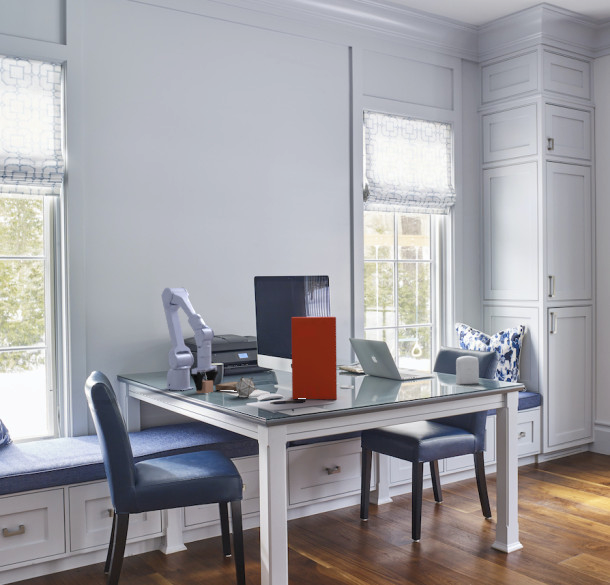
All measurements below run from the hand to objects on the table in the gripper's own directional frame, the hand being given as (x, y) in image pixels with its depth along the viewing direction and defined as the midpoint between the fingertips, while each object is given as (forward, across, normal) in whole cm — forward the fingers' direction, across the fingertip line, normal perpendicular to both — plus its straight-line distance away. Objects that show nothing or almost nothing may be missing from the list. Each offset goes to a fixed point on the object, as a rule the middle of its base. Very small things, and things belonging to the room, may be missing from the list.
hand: (204, 389), depth 304 cm
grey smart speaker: (+2, +74, -89) cm, 116 cm away
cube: (+2, 0, 0) cm, 2 cm away
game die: (+2, -2, -22) cm, 22 cm away
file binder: (+2, +8, -48) cm, 49 cm away
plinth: (+1, +12, -7) cm, 14 cm away
